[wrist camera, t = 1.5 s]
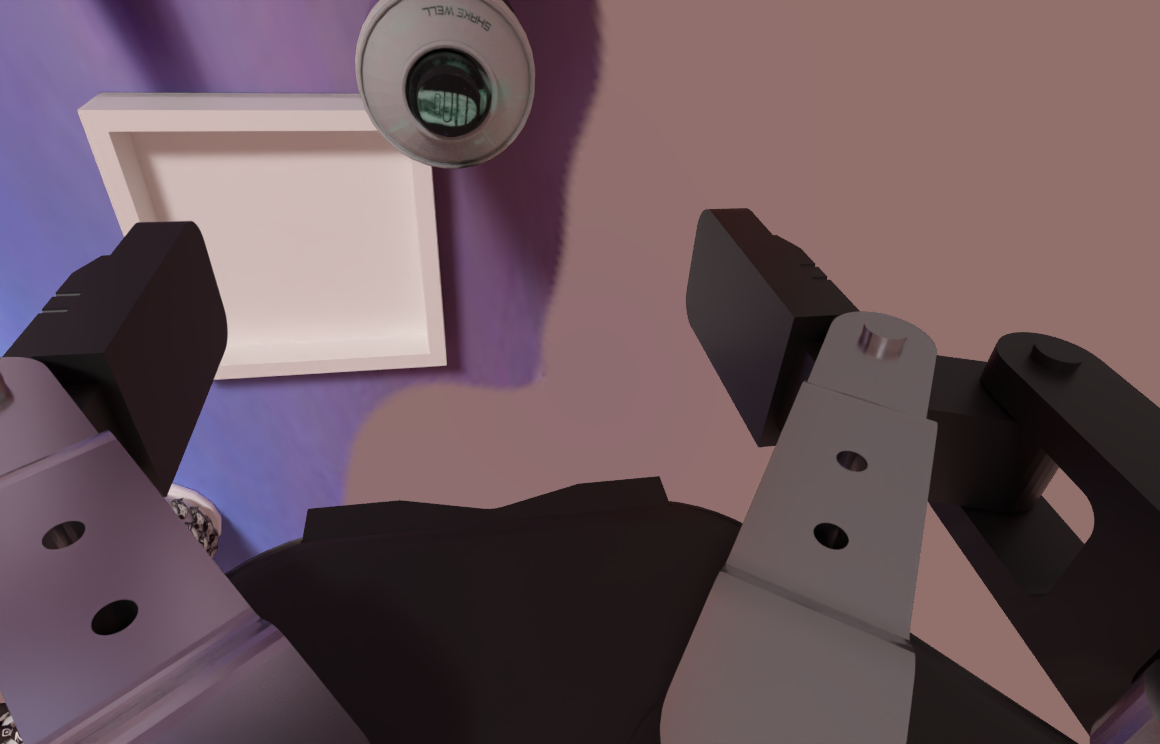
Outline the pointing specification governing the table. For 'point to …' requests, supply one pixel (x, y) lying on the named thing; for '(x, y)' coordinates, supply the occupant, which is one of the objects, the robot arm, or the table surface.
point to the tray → (286, 222)
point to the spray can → (445, 78)
